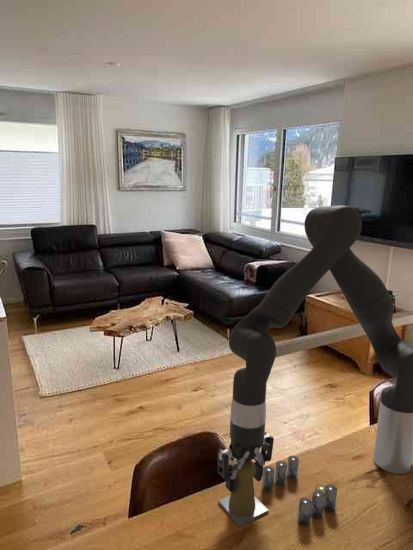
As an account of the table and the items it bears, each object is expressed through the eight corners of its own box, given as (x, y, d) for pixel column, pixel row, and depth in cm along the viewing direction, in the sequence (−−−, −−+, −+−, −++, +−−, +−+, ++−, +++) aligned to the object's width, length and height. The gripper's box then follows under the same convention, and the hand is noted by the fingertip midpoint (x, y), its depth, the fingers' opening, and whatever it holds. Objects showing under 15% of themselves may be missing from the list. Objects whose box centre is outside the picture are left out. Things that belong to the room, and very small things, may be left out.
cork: (253, 518, 90) (256, 473, 87) (226, 512, 91) (228, 468, 89) (256, 498, 95) (259, 456, 93) (231, 493, 97) (233, 451, 94)
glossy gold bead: (318, 486, 101) (318, 481, 101) (330, 491, 99) (330, 487, 99) (313, 493, 99) (313, 488, 99) (325, 498, 97) (325, 494, 97)
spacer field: (292, 471, 106) (293, 454, 105) (337, 509, 94) (339, 490, 93) (260, 486, 100) (261, 468, 99) (303, 528, 88) (305, 508, 87)
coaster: (246, 490, 99) (246, 488, 99) (268, 512, 92) (268, 510, 92) (218, 502, 95) (218, 500, 94) (239, 526, 88) (239, 524, 88)
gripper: (262, 401, 96) (258, 464, 99) (210, 417, 88) (207, 485, 91) (284, 416, 89) (279, 483, 93) (230, 435, 82) (227, 508, 85)
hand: (244, 484), depth 92 cm, fingers open, 6 cm apart
